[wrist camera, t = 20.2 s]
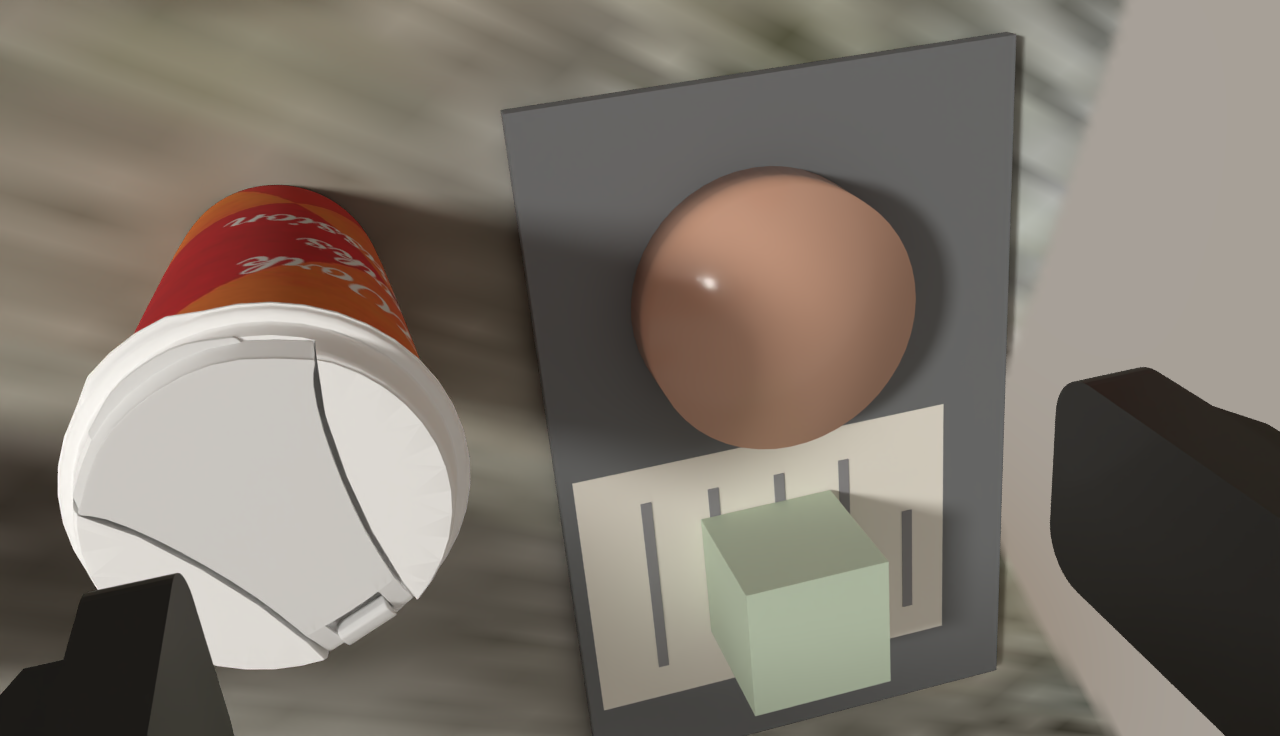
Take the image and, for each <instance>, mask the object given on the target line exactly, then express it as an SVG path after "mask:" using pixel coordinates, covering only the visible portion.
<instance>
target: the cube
mask: <svg viewBox="0 0 1280 736" xmlns="http://www.w3.org/2000/svg"><path fill="white" fill-rule="evenodd" d="M701 525H702V536H703V547H704V557H705V568H706V579H707V590H708V600H709V611H710V622H711V632H712V634H713V636H714V638H715V640H716V641H717V643H718V645H719V647H720V649H721V651H722V653H723V655H724V657H725V659H726V661H727V663H728V665H729V666H730V668H731V670H732V672H733V674H734V676H735V678H736V680H737V682H738V684H739V686H740V688H741V690H742V691H743V693H744V695H745V697H746V699H747V701H748V703H749V705H750V707H751V709H752V711H753V713H754V715H755V716H758V715H762V714H766V713H770V712H774V711H778V710H781V709H785V708H789V707H793V706H797V705H801V704H804V703H808V702H812V701H816V700H820V699H824V698H827V697H831V696H835V695H839V694H843V693H847V692H850V691H854V690H858V689H862V688H866V687H870V686H873V685H877V684H881V683H885V682H889V681H891V673H890V615H889V562H888V560H887V559H886V558H885V557H884V555H883V554H882V553H881V552H880V551H879V549H878V548H877V547H876V546H875V544H874V543H873V542H872V541H871V539H870V538H869V537H868V536H867V535H866V533H865V532H864V531H863V530H862V528H861V527H860V526H859V525H858V523H857V522H856V521H855V520H854V519H853V517H852V516H851V515H850V514H849V512H848V511H847V510H846V509H845V508H844V506H843V505H842V504H841V503H840V501H839V500H838V499H837V498H836V496H835V495H834V494H833V493H832V492H831V490H828V491H824V492H820V493H815V494H811V495H806V496H802V497H798V498H793V499H789V500H784V501H780V502H776V503H771V504H767V505H762V506H758V507H754V508H749V509H745V510H741V511H736V512H732V513H727V514H723V515H719V516H714V517H710V518H705V519H701Z"/></svg>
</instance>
